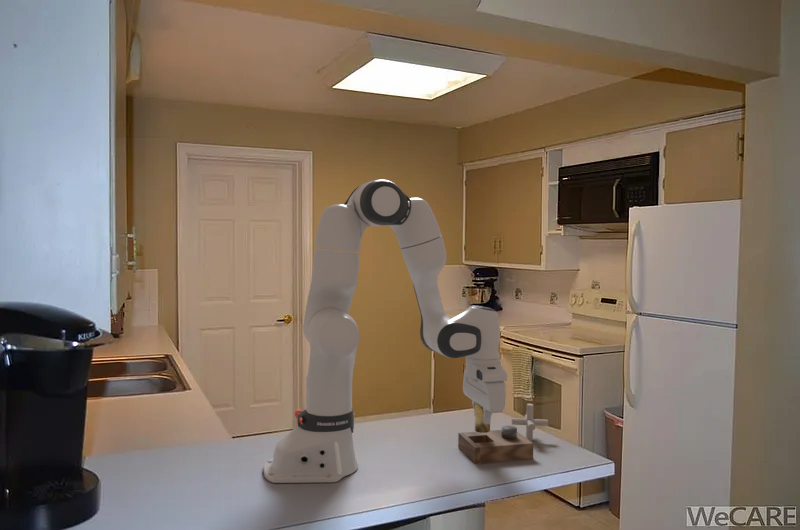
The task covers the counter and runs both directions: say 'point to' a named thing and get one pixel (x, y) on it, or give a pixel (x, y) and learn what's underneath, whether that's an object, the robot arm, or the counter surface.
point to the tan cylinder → (480, 420)
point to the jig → (495, 445)
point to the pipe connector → (529, 422)
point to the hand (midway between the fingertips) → (482, 420)
